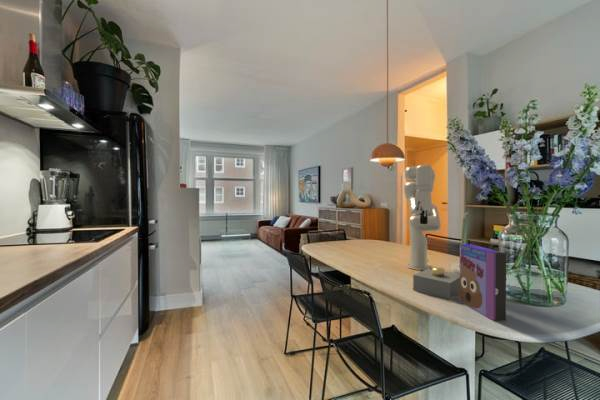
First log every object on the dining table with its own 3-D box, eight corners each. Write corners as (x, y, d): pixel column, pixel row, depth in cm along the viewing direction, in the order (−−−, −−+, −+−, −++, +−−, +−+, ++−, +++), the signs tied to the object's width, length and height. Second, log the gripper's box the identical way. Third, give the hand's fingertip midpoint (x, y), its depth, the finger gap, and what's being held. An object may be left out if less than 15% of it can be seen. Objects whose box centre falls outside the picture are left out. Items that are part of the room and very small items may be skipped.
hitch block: (428, 282, 138) (428, 268, 138) (463, 290, 127) (463, 275, 126) (413, 289, 128) (413, 274, 128) (450, 299, 116) (450, 283, 116)
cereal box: (459, 301, 113) (459, 244, 113) (470, 301, 114) (470, 243, 113) (493, 321, 96) (493, 252, 96) (505, 320, 96) (506, 252, 96)
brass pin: (434, 285, 131) (434, 266, 131) (446, 288, 127) (446, 268, 127) (430, 287, 127) (430, 268, 127) (441, 290, 123) (441, 270, 123)
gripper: (422, 189, 151) (422, 222, 151) (410, 188, 141) (410, 224, 141) (437, 188, 145) (437, 223, 146) (424, 188, 135) (424, 225, 136)
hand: (423, 223), depth 144 cm, fingers closed
